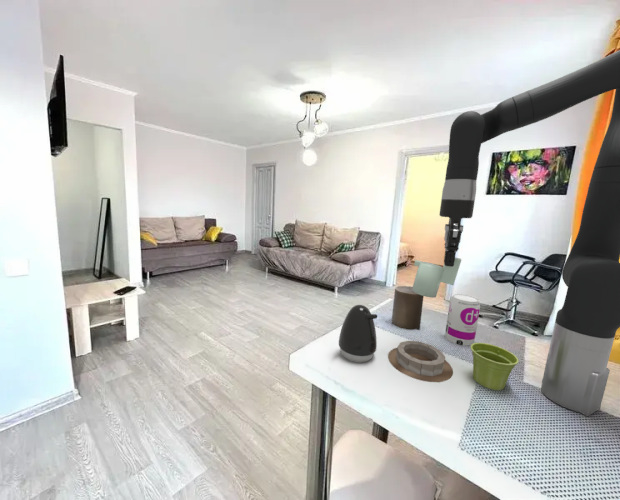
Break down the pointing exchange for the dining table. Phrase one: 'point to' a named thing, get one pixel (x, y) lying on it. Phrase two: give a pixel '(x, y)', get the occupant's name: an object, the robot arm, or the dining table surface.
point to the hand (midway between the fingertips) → (448, 264)
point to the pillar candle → (407, 308)
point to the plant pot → (492, 365)
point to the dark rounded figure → (358, 335)
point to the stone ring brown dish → (420, 361)
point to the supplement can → (462, 319)
